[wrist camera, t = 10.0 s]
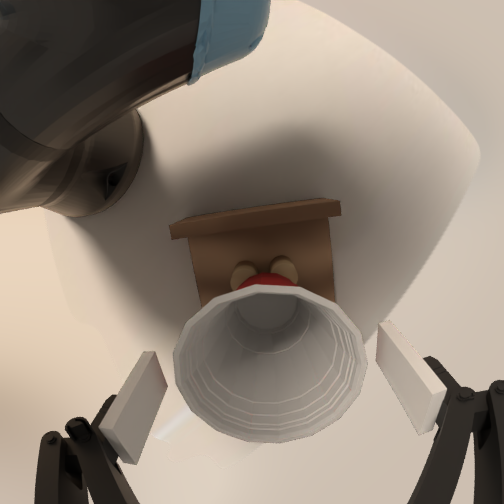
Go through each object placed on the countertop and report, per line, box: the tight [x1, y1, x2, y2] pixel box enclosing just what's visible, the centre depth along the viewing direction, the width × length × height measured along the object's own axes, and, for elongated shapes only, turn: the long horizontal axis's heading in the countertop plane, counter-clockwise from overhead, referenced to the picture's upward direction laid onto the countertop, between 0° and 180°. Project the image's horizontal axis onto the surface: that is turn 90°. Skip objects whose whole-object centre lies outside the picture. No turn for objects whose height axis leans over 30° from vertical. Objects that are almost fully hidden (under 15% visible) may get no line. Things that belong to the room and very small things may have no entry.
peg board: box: [169, 198, 341, 308], centre depth 27 cm, size 16×14×6 cm
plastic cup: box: [173, 272, 368, 443], centre depth 20 cm, size 11×11×12 cm
